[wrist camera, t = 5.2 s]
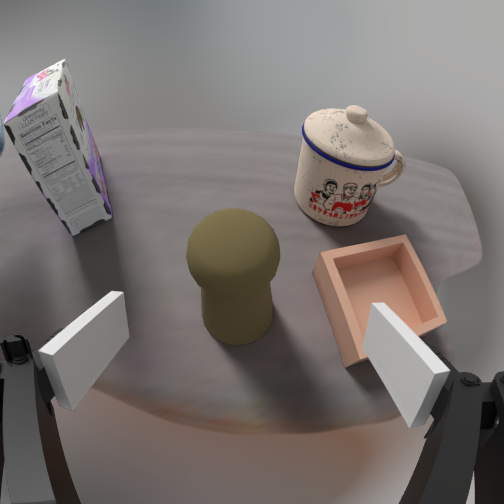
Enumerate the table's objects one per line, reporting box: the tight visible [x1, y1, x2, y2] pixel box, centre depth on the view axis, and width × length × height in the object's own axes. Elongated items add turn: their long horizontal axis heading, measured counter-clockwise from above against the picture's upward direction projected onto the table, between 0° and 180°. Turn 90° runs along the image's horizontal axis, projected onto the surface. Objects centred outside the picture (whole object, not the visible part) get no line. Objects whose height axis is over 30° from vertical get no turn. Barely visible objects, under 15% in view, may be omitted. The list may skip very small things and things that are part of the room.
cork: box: [186, 209, 280, 345], centre depth 19 cm, size 6×6×11 cm
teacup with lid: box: [294, 105, 406, 226], centre depth 26 cm, size 12×9×12 cm
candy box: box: [4, 59, 113, 236], centre depth 24 cm, size 14×6×16 cm, turn 29°
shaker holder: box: [312, 234, 447, 368], centre depth 23 cm, size 9×9×4 cm
